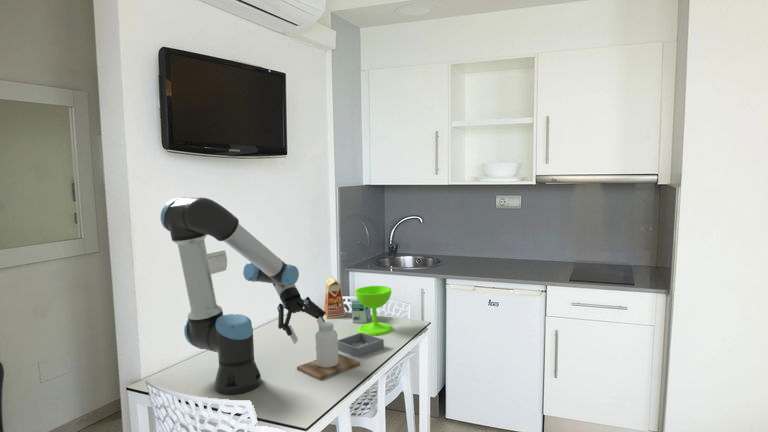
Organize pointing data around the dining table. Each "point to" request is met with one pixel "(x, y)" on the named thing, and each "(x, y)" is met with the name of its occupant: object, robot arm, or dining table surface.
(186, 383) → the dining table surface
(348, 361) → the board
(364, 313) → the light bulb box
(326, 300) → the milk carton
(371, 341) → the bin
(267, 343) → the dining table surface
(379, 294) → the wineglass
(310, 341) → the dining table surface
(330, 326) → the pill bottle
